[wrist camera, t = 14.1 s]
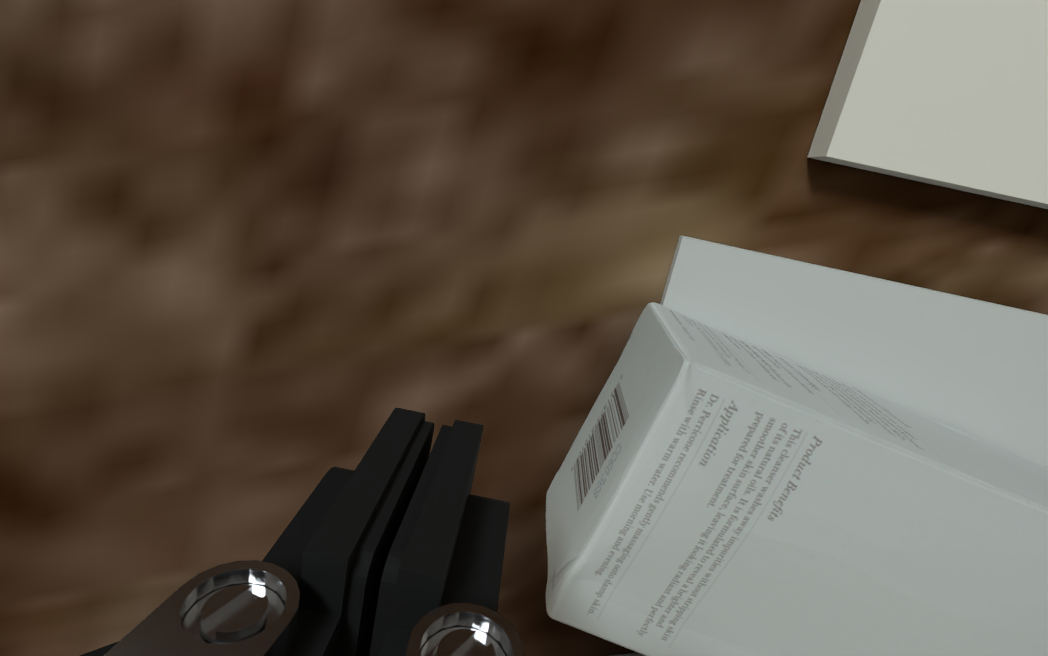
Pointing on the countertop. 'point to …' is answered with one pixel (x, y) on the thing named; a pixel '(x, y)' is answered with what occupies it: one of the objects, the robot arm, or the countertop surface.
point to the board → (944, 96)
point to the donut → (630, 654)
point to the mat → (880, 338)
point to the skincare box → (787, 514)
